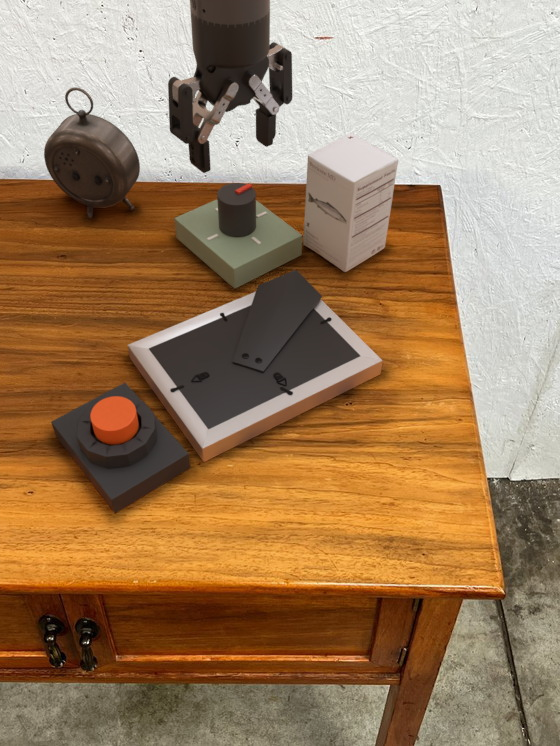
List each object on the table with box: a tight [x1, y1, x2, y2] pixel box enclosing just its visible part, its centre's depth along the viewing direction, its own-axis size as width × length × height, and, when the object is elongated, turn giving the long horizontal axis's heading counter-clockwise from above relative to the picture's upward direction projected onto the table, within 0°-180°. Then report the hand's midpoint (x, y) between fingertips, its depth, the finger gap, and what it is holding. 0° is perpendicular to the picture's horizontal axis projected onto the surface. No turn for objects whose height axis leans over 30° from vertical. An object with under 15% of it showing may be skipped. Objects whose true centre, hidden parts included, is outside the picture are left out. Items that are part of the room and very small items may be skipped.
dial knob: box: [216, 182, 257, 237], centre depth 90 cm, size 4×4×5 cm
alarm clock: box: [43, 86, 141, 219], centre depth 93 cm, size 11×5×16 cm, turn 72°
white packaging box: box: [302, 132, 399, 273], centre depth 89 cm, size 7×7×13 cm
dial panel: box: [173, 199, 303, 290], centre depth 93 cm, size 12×10×3 cm
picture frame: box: [127, 269, 384, 463], centre depth 79 cm, size 16×3×21 cm
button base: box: [50, 382, 191, 514], centre depth 71 cm, size 11×8×4 cm
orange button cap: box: [90, 396, 139, 445], centre depth 69 cm, size 4×4×2 cm
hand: (234, 155), depth 85 cm, fingers open, 8 cm apart
